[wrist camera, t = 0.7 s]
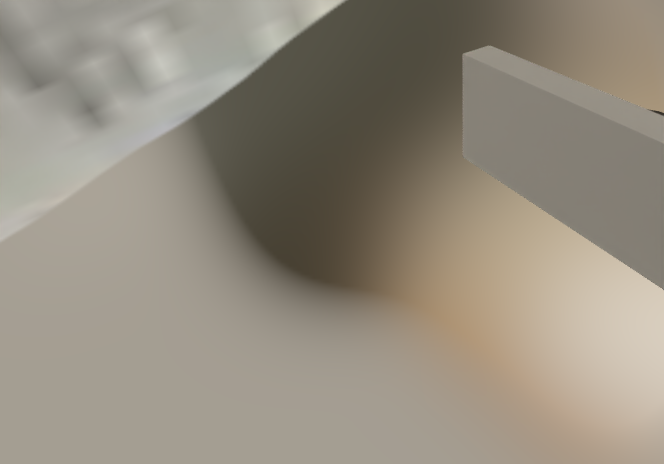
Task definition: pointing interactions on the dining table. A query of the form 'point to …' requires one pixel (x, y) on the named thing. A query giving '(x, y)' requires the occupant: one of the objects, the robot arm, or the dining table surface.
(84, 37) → the dining table surface
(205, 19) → the dining table surface
